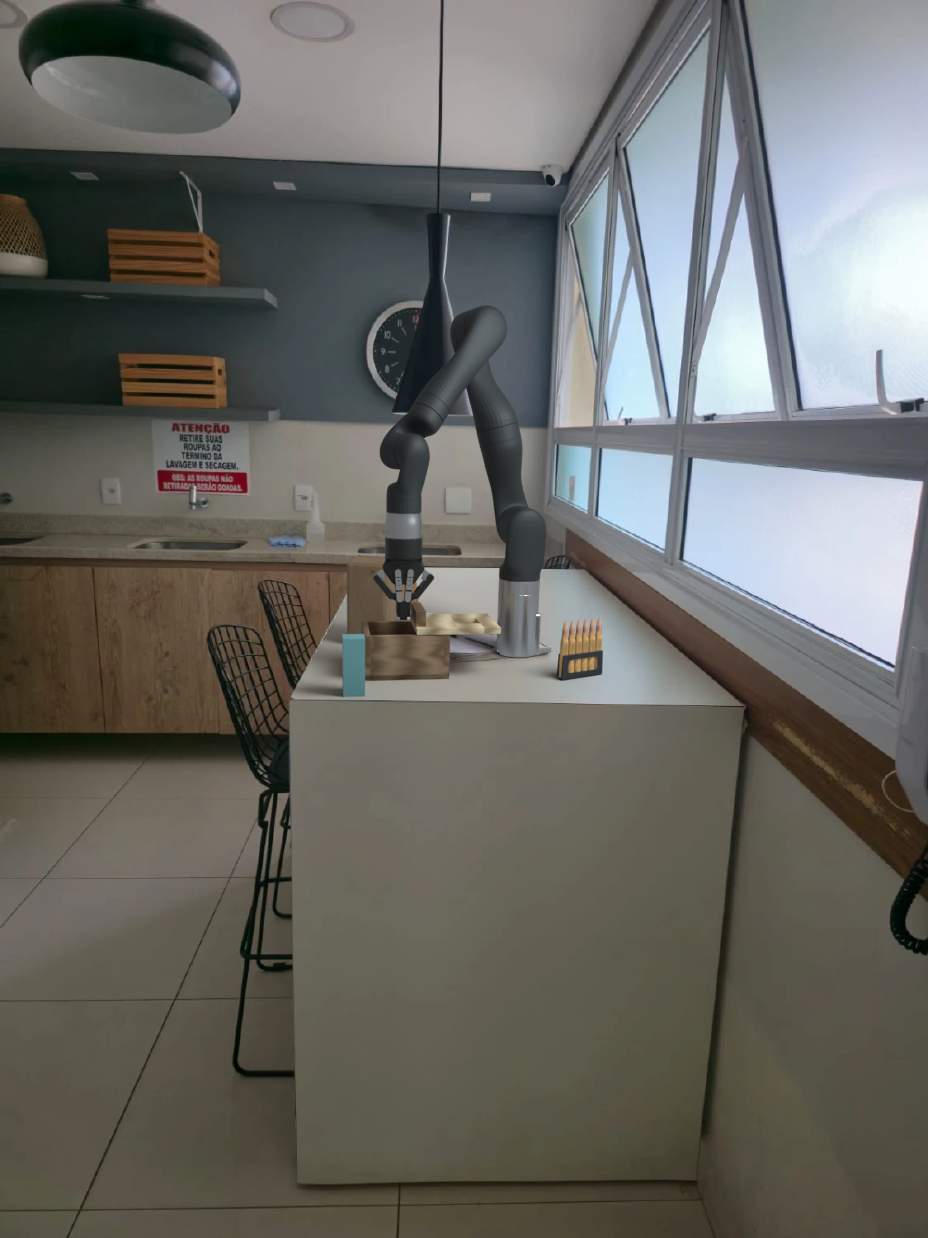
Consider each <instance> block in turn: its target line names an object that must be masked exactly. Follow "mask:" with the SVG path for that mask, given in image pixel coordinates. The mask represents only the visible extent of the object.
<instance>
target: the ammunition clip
mask: <svg viewBox="0 0 928 1238" xmlns="http://www.w3.org/2000/svg"><path fill="white" fill-rule="evenodd" d="M562 625H563V626H562V629H561V630H562V631H561V639H560V647H559V653H558V654H557V655H558V659H557V669H556V678H557V679H560V680H562V681H565V680H571V679H577V678H584V677H589V676H590V677H591V676H596V675H603V662H604V661H603V660H604V659H603V656H604V650H603V626H602V625H603V624H602V619H601V617H598V619H597V622H595V619H594V618H592V619H591V620H590V623H588V619H587V618H585V619H584V622H583V625H582V622H581V620H580V619H578V621H577V623H576V626H575V621H574V620H571V622H570V625H569V627H568V623H567V621H564V623H563V624H562Z"/></svg>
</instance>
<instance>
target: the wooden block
mask: <svg viewBox="0 0 928 1238" xmlns="http://www.w3.org/2000/svg"><path fill="white" fill-rule="evenodd" d="M384 562H385V556H369V555H368V556H367V555H361V556H358V557H356V558H353V559H350V560H348V561H347V563H346V634H361V621H398V617H397V614H396V601H395V600H393V599H389V598H388V597H387V596H386V594H385V593H384V592H383V591H382V589H381V588H380V587H379V586H378V584H377V583H376V582H375V581H374V579H373V575H374V574H375V573H376V574H377V573H378V572H379V571H381V570H382V569H383V568H382V566H383V564H384ZM384 577H385V581H384V583H385V584H386V585H387V586H388V588H389V589H390V590H391V591H392V592H393V593H395V584H393V583H392V582H391V581H390V579H389V578H388V576H387V575H386V574H385V575H384Z"/></svg>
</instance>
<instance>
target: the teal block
mask: <svg viewBox="0 0 928 1238" xmlns="http://www.w3.org/2000/svg"><path fill="white" fill-rule="evenodd" d="M341 638H342V643H341V644H342V646H341V647H342V649H341V650H342V655H341V656H342V696H343V698H346V697H347V698H349V697H350V698H351V697H365V696H366V681H365V637H364V634H347V633H342V637H341Z"/></svg>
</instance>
